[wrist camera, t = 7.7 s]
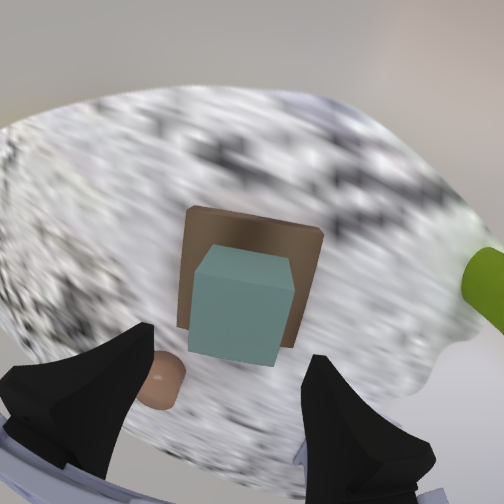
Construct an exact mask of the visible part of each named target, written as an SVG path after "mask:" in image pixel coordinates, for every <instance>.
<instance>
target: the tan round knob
mask: <svg viewBox="0 0 504 504" xmlns="http://www.w3.org/2000/svg"><path fill="white" fill-rule="evenodd" d="M185 373H186V370H185V366H184V364H183V363H182V361H181V360H180V359H179V358H178V357H176V356H175V355H173V354H171V353H169V352H166V351H154V361H153V364H152V367H151V369H150V372H149V374H148V377H147V379H146V380H145V382H144V384H143V386H142V388H141V389H140V391H139V393H138V395H137V396H136V398H137V399H138V400H139V401H140V402H141V403H143V404H144V405H146V406H148V407H150V408H153V409H157V410H167V409H170V408H172V407H173V405H174V403H175V401H176V398H177V395H178V392H179V390H180V387H181V384H182V382H183V379H184V376H185Z"/></svg>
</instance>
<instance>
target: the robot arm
mask: <svg viewBox="0 0 504 504" xmlns="http://www.w3.org/2000/svg"><path fill="white" fill-rule="evenodd" d="M153 361H154V325H152V324H148V323H144V322H141V323H139V324H137V325H135V326H134V327H132V328H130V329H129V330H127V331H125V332H124V333H122V334H120V335H119V336H117V337H115V338H113V339H112V340H110V341H108V342H106V343H104V344H102V345H100V346H98V347H96V348H94V349H92V350H89V351H87V352H84V353H82V354H79V355H76V356H73V357H70V358H66V359H63V360H59V361H55V362H50V363H44V364H37V365H25V366H24V365H23V366H13V367H12V368H11V369H10V370H9V371H8V372H7V373H6V374H5V375H4V376H3V377H2V378H1V380H0V397H1V399H2V401H3V403H4V405H5V406H6V408H7V410H8V412H9V413H10V415H11V416H10V418H9V419H8V420H7V419H6V418H5V417H4V416H3V415H2V414H1V413H0V480H2V481H3V482H4V483H5V484H6V485H8V486H9V487H10V488H11V489H13V490H14V491H15V492H17V493H18V494H19V495H21V496H22V497H23V498H25V499H26V500H27V501H29V502H31V503H32V504H174V503H170V502H167V501H163V500H159V499H156V498H153V497H149V496H146V495H143V494H140V493H136V492H134V491H131V490H128V489H125V488H122V487H120V486H117V485H115V484H112V483H109V482H107V481H105V479H106V474H107V471H108V466H109V463H110V459H111V456H112V453H113V450H114V447H115V443H116V441H117V437H118V435H119V432H120V430H121V427H122V424H123V422H124V419H125V417H126V415H127V413H128V411H129V409H130V407H131V405H132V404H133V402H134V400H135V398H136V396H137V395H138V393H139V391H140V389H141V388H142V386H143V384H144V382H145V380H146V379H147V377H148V374H149V372H150V369H151V367H152V364H153ZM301 408H302V415H303V422H304V429H305V436H306V440H305V442H304V444H303V445H302V447H301V449H300V450H299V452H298V454H297V455H296V457H295V459H294V460H293V464H295V465H304V473H305V487H306V501H305V504H449V503H448V500H447V497H446V494H445V492H444V489H443V488H439V489H436V490H433V491H429V492H426V493H423V494H421V495H419V496H417V497H416V494H415V491H416V490H418V486H417V483H416V482H417V481H419V480H420V479H421V478H422V477H423V476H424V475H425V474H426V473H428V472H429V471H430V470H431V468H432V467H433V466H434V464H435V462H436V457H435V455H434V453H433V450H432V448H431V446H430V444H429V443H428V442H426V441H423V440H421V439H419V438H417V437H414V436H412V435H410V434H408V433H406V432H405V431H403V430H401V429H399V428H398V427H396V426H395V425H393V424H391V423H390V422H389V421H387V420H386V419H384V418H383V417H382V416H380V415H379V414H378V413H377V412H375V411H374V410H373V409H372V408H371V407H370V406H369V405H367V404H366V403H365V402H364V401H363V400H362V399H361V398H360V397H359V396H358V394H357V393H356V392H355V391H354V390H353V389H352V388H351V387H350V386H349V384H348V383H347V382H346V381H345V379H344V378H343V377H342V376H341V374H340V373H339V372H338V371H337V369H336V368H335V367H334V365H333V364H332V363H331V361H330V360H329V359H328V358H327V356H324V355H315V354H313V356H312V359H311V362H310V364H309V367H308V370H307V372H306V375H305V377H304V380H303V382H302V385H301Z"/></svg>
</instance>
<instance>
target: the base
mask: <svg viewBox="0 0 504 504" xmlns="http://www.w3.org/2000/svg"><path fill="white" fill-rule="evenodd" d="M323 238H324V234H323V232H322V231H321V230H320V229H319V228H317V227H312V226H307V225H302V224H297V223H292V222H287V221H281V220H276V219H271V218H265V217H260V216H254V215H249V214H243V213H237V212H232V211H226V210H220V209H214V208H208V207H202V206H195V205H194V206H192V207H191V208H189V209H187V212H186V220H185V229H184V238H183V248H182V258H181V270H180V282H179V295H178V311H177V327H179V328H183V329H187V330H189V327H190V315H191V304H192V294H193V284H194V275H195V271H196V269H197V268H198V266H199V265H200V263H201V262H202V260H203V259H204V257H205V256H206V254H207V253H208V251H209V250H210V248H211V247H212V245H213V244H215V245H220V246H225V247H231V248H236V249H242V250H247V251H252V252H258V253H263V254H268V255H274V256H279V257H285V258H288V259H289V264H290V268H291V273H292V278H293V283H294V288H295V293H294V297H293V300H292V304H291V308H290V312H289V315H288V319H287V323H286V326H285V330H284V333H283V337H282V340H281V344H280V347H287V348H293V347H294V343H295V340H296V337H297V334H298V330H299V327H300V324H301V320H302V317H303V313H304V310H305V306H306V303H307V299H308V296H309V292H310V288H311V285H312V281H313V277H314V273H315V270H316V266H317V262H318V258H319V254H320V250H321V246H322V242H323Z"/></svg>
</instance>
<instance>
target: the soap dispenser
mask: <svg viewBox="0 0 504 504" xmlns="http://www.w3.org/2000/svg"><path fill="white" fill-rule="evenodd" d="M462 294H463V297H464V299H465V300H466V301H467V302H468V303H469V304H470V305H471V306H472V307H474V308H475V309H476V310H477V311H478V312H479V313H480V314H481V315H483V316H484V317H485V318H486V319H487V320H488V321H489V322H490V323H492V324H493V325H494V326H495V327H496V328H497V329H498V330H499V331H500V332H501V333H502V334H503V335H504V254H503V253H502V252H500V251H498V250H496V249H494V248H491V247H486V248H483V249H481V250H480V251H478V252H477V253H476V254H475V255H474V256H473V257H472V259H471V260H470V262H469V263H468V265H467V267H466V269H465V272H464V275H463V279H462Z"/></svg>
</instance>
